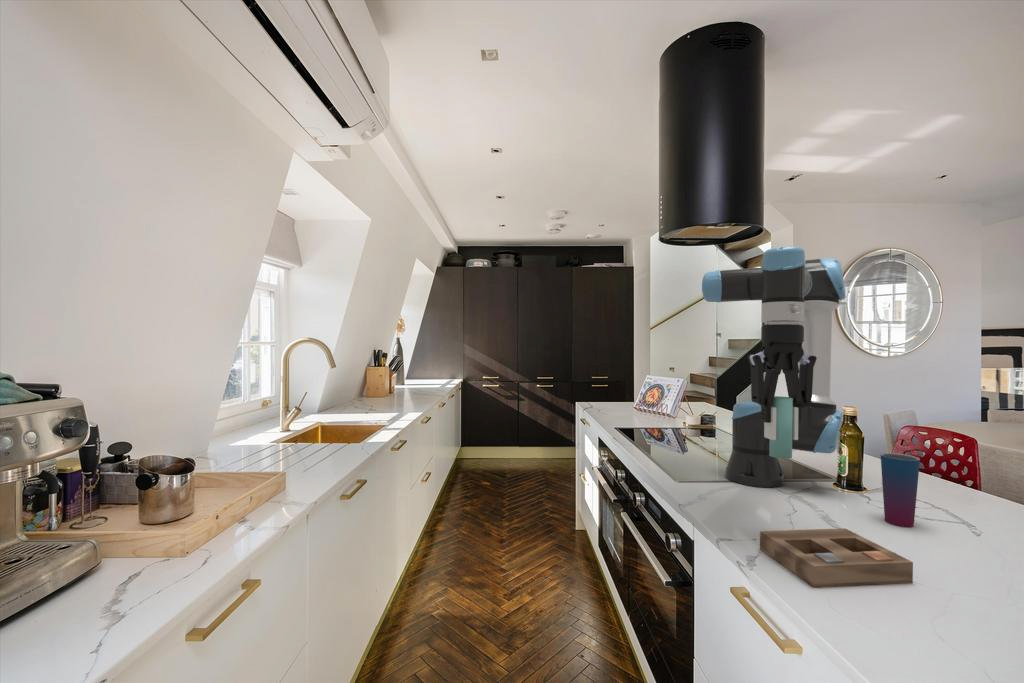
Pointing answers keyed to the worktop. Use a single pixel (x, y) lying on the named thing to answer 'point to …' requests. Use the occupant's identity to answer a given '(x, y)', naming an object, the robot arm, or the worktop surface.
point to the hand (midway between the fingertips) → (780, 438)
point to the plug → (782, 428)
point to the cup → (899, 488)
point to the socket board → (835, 557)
